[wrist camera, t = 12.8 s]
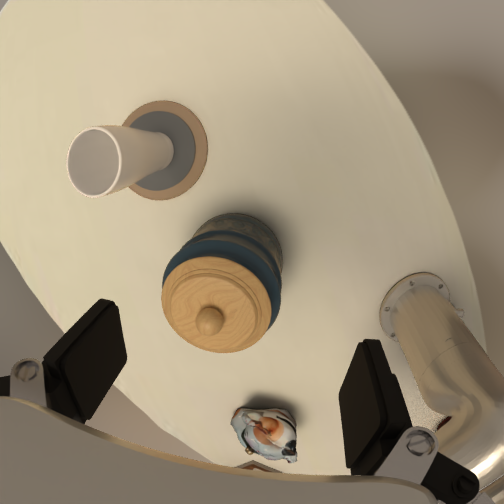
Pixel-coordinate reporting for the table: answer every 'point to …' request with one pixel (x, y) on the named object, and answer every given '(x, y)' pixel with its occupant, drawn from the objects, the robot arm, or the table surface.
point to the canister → (224, 284)
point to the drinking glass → (115, 158)
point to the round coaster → (185, 148)
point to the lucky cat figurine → (267, 433)
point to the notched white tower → (257, 467)
